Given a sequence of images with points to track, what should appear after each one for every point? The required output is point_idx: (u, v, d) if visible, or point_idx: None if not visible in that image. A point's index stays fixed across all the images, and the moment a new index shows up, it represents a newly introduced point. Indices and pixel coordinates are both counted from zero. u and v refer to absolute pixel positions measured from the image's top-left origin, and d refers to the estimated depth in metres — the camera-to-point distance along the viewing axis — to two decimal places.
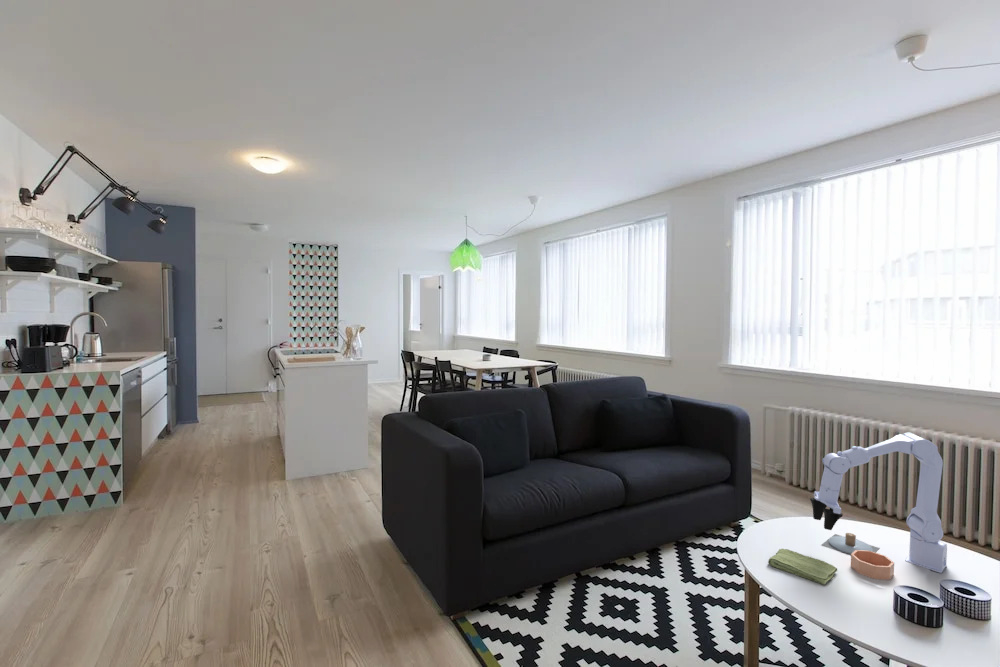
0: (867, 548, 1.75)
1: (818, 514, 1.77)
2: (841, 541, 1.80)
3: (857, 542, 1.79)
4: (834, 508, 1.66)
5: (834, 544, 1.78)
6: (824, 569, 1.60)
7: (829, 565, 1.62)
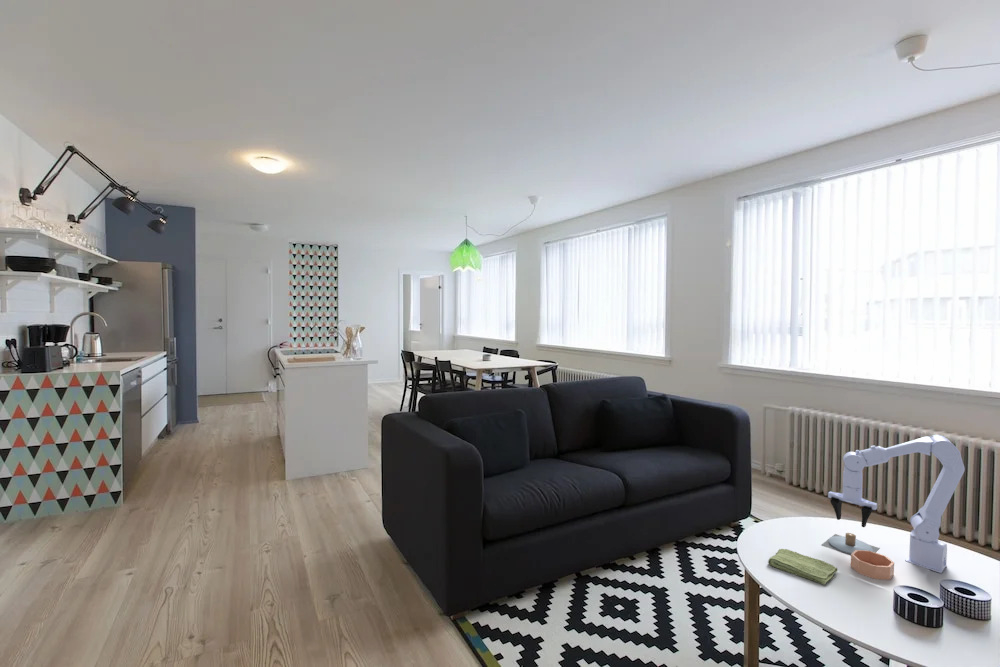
0: (867, 548, 1.75)
1: (839, 513, 1.80)
2: (841, 541, 1.80)
3: (857, 542, 1.79)
4: (873, 505, 1.71)
5: (834, 544, 1.78)
6: (824, 569, 1.60)
7: (829, 565, 1.62)
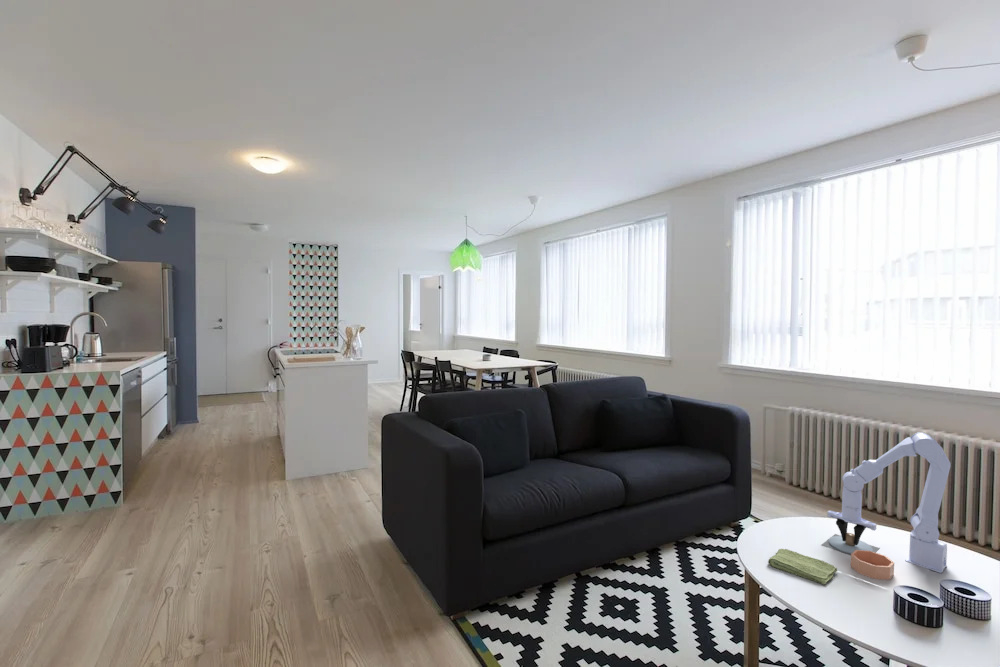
0: (867, 548, 1.75)
1: (845, 535, 1.79)
2: (841, 541, 1.80)
3: None
4: (873, 526, 1.71)
5: (834, 544, 1.78)
6: (824, 569, 1.60)
7: (829, 565, 1.62)
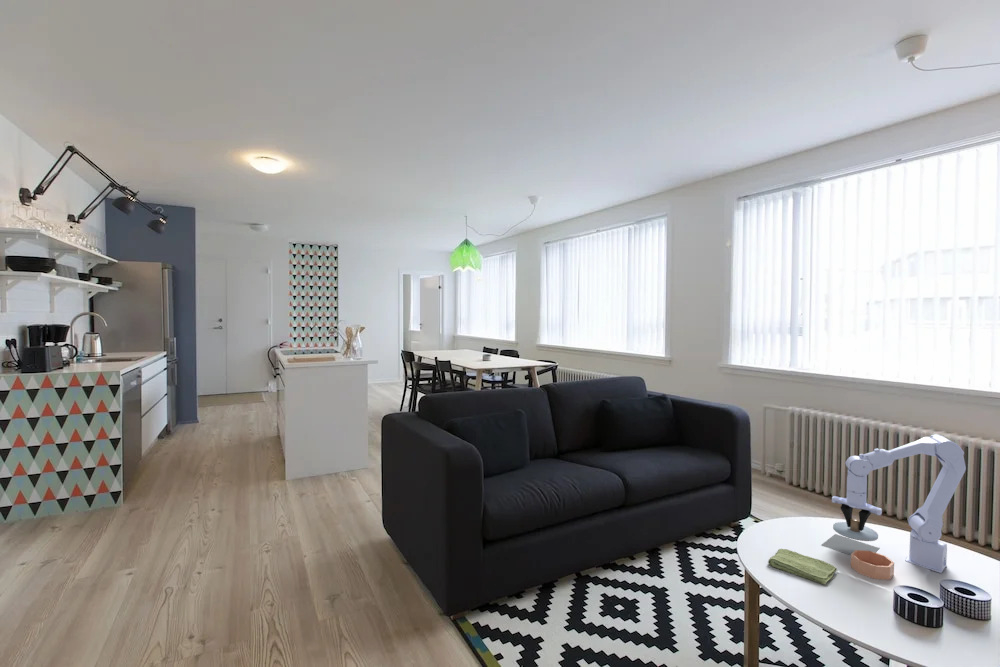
0: (872, 534, 1.71)
1: None
2: (846, 527, 1.77)
3: None
4: (878, 511, 1.68)
5: (839, 530, 1.74)
6: (824, 569, 1.60)
7: (829, 565, 1.62)
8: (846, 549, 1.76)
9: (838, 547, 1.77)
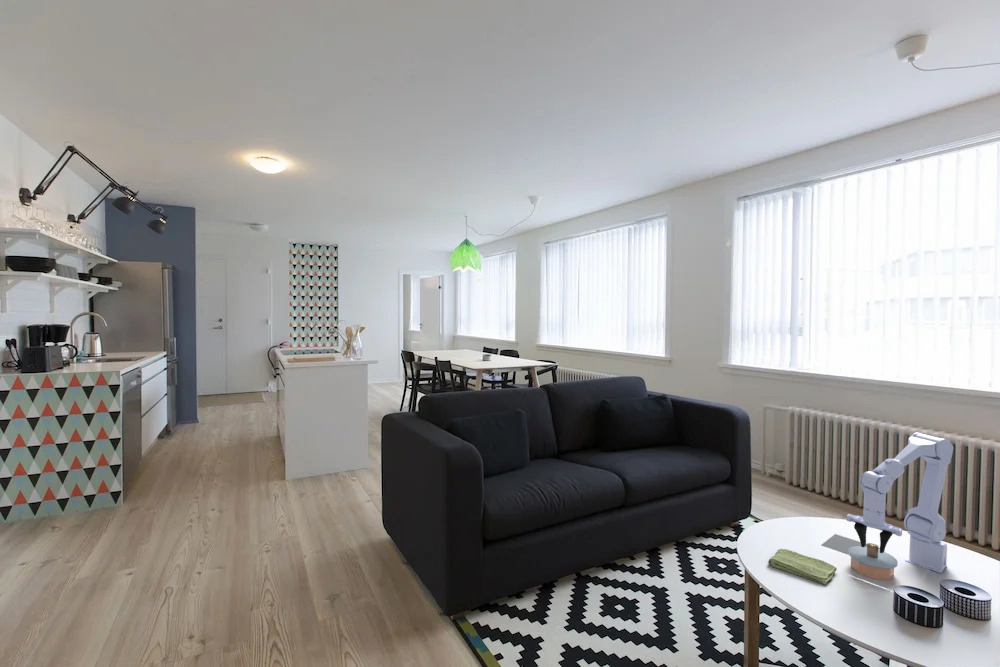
0: (891, 560, 1.59)
1: (864, 540, 1.63)
2: (862, 552, 1.64)
3: (879, 553, 1.63)
4: (898, 531, 1.55)
5: (855, 556, 1.62)
6: (824, 569, 1.60)
7: (828, 565, 1.62)
8: (846, 549, 1.76)
9: (838, 547, 1.77)
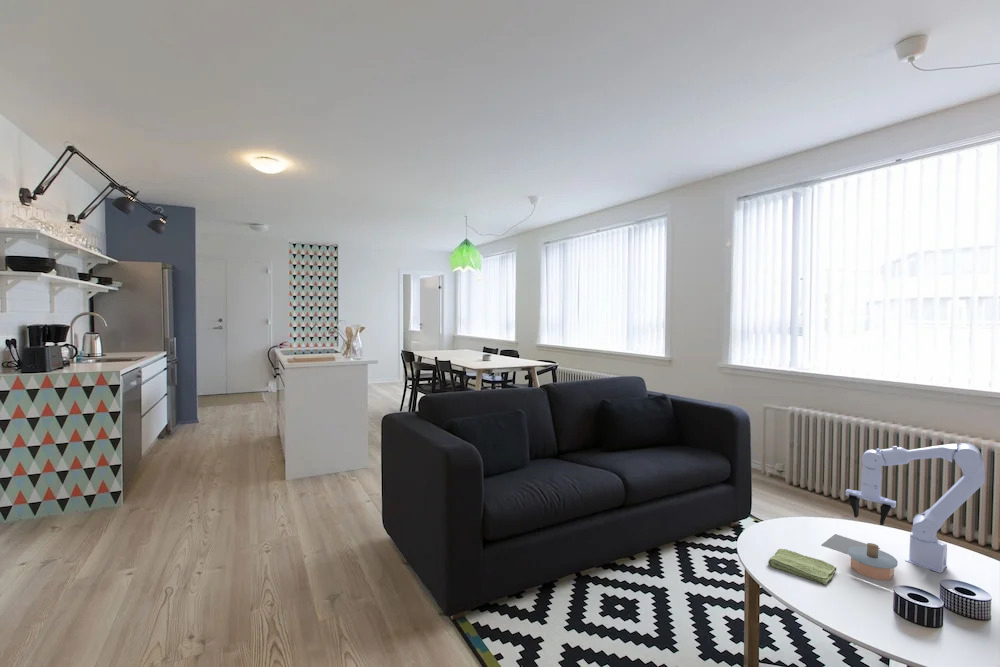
0: (891, 560, 1.59)
1: (857, 511, 1.79)
2: (862, 552, 1.64)
3: (879, 553, 1.63)
4: (893, 503, 1.70)
5: (855, 556, 1.62)
6: (824, 569, 1.60)
7: (828, 564, 1.62)
8: (846, 549, 1.76)
9: (838, 547, 1.77)
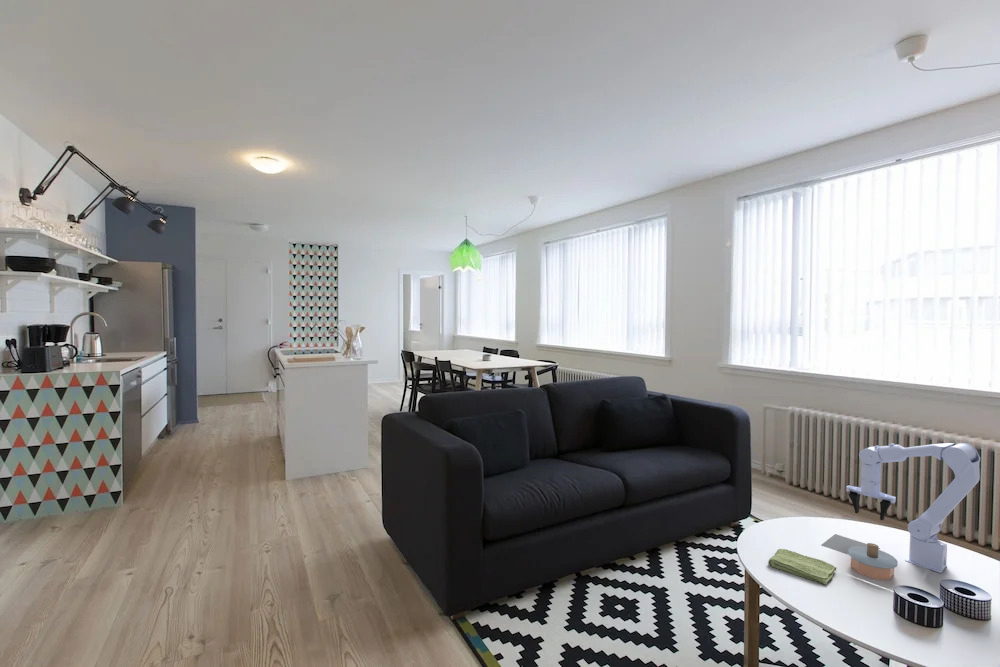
0: (891, 560, 1.59)
1: (858, 507, 1.83)
2: (862, 552, 1.64)
3: (879, 553, 1.63)
4: (892, 499, 1.74)
5: (855, 556, 1.62)
6: (824, 568, 1.60)
7: (828, 564, 1.62)
8: (846, 549, 1.76)
9: (838, 547, 1.77)
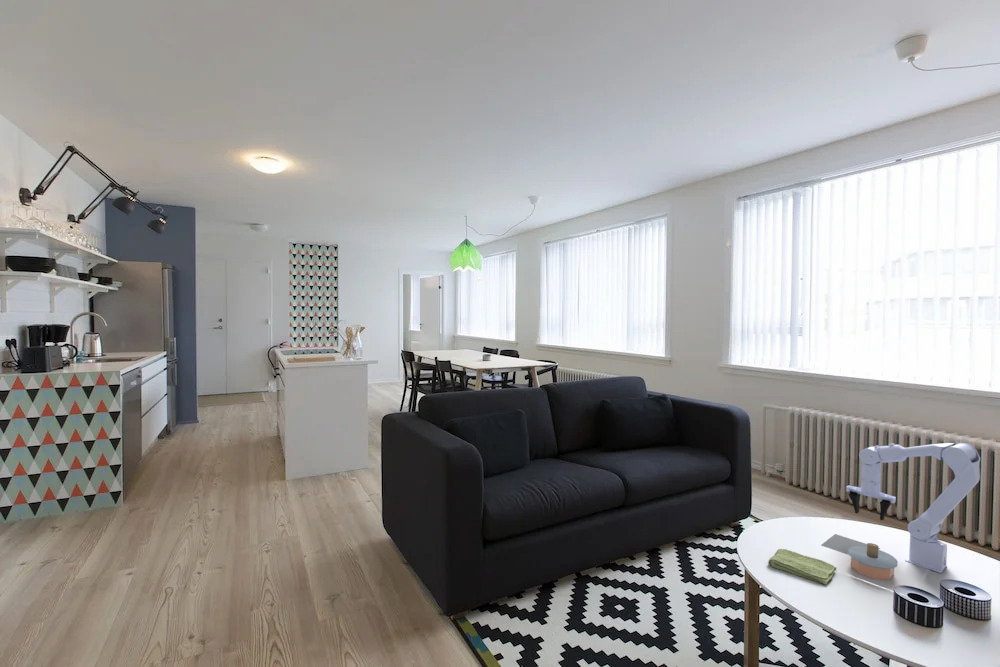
0: (891, 560, 1.59)
1: (858, 507, 1.83)
2: (862, 552, 1.64)
3: (879, 553, 1.63)
4: (892, 499, 1.74)
5: (855, 556, 1.62)
6: (824, 568, 1.60)
7: (828, 564, 1.63)
8: (846, 549, 1.76)
9: (838, 547, 1.77)
